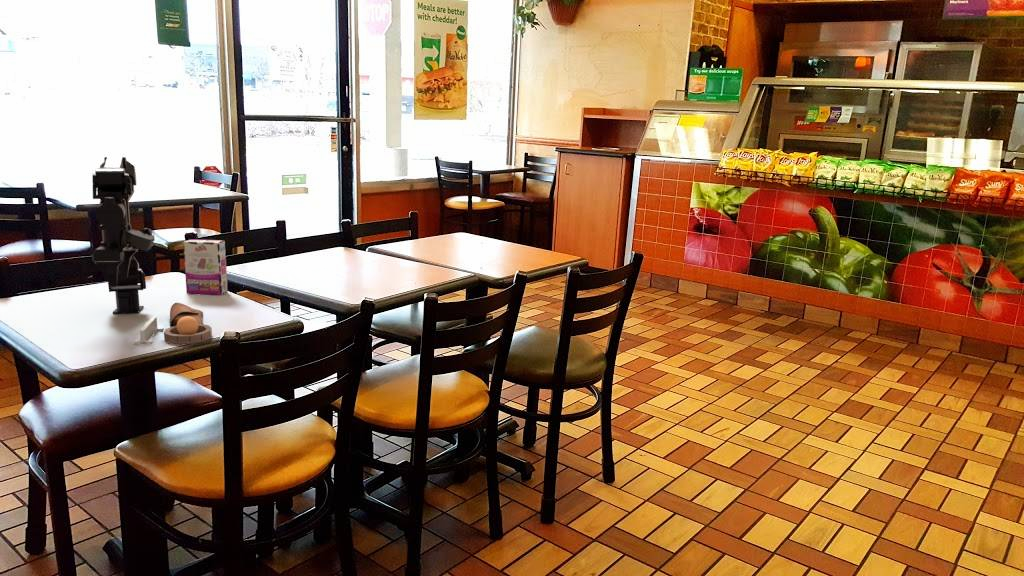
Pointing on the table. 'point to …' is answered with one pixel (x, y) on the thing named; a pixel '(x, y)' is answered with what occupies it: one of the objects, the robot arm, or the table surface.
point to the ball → (187, 325)
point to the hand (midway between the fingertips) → (119, 282)
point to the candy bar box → (205, 267)
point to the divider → (148, 331)
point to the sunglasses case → (183, 313)
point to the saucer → (200, 336)
